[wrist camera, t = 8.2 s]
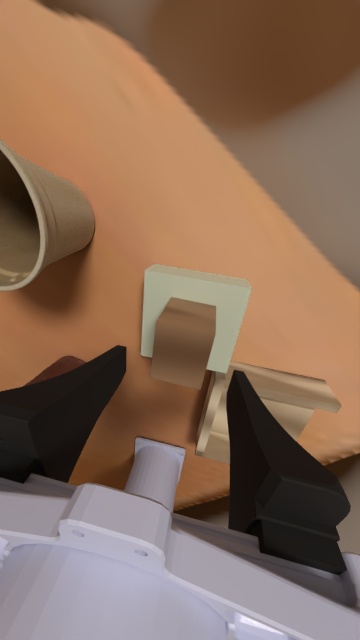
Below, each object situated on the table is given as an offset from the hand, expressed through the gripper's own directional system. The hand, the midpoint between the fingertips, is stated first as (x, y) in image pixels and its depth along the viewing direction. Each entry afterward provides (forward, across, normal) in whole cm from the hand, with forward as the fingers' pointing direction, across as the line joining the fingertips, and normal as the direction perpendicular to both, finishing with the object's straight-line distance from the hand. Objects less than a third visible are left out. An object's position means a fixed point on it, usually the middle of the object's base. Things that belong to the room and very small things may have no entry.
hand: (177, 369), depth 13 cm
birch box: (+9, -10, +11) cm, 18 cm away
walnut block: (+6, 0, 0) cm, 6 cm away
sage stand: (+9, 0, 0) cm, 9 cm away
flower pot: (+10, +14, -8) cm, 18 cm away
